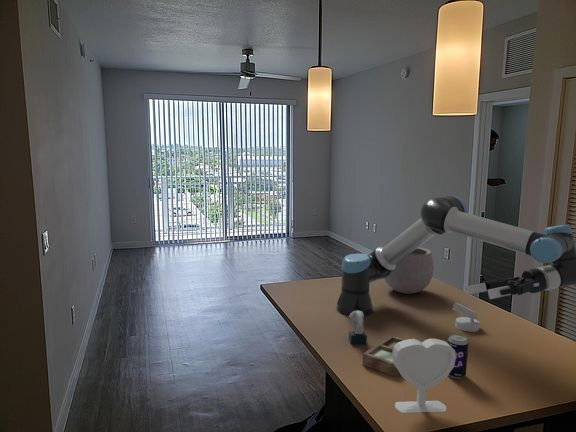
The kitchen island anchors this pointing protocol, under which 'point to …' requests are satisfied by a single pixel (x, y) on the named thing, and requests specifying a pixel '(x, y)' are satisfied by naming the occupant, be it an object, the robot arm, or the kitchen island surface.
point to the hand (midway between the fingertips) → (477, 292)
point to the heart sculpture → (423, 370)
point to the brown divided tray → (382, 356)
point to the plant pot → (412, 272)
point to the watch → (357, 328)
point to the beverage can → (459, 355)
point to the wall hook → (466, 319)
